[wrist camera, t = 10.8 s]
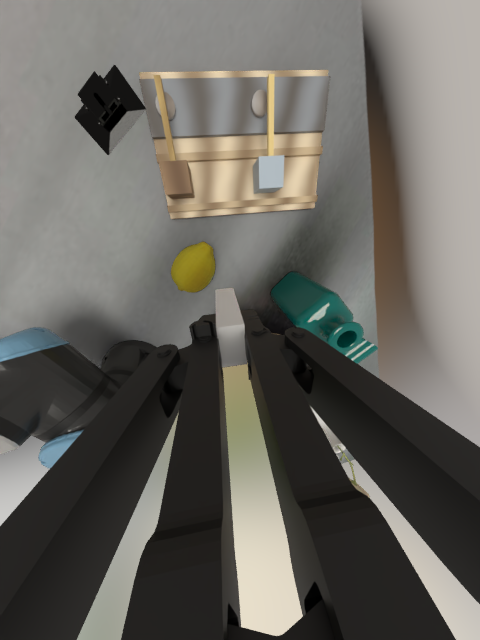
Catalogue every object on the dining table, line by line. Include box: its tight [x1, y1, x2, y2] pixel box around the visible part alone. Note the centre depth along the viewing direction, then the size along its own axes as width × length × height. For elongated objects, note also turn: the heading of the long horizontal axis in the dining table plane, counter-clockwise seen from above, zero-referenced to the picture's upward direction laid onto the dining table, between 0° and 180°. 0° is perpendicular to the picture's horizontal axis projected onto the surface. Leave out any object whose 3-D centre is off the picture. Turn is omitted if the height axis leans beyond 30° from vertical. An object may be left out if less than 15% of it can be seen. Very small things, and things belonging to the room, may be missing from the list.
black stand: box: [75, 65, 146, 155], centre depth 26 cm, size 12×7×5 cm, turn 128°
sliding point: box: [253, 74, 284, 194], centre depth 29 cm, size 4×12×5 cm, turn 4°
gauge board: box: [139, 70, 330, 219], centre depth 29 cm, size 28×18×6 cm, turn 94°
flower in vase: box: [310, 406, 369, 497], centre depth 57 cm, size 13×11×25 cm
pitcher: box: [271, 272, 378, 364], centre depth 35 cm, size 10×8×22 cm
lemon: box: [171, 242, 215, 292], centre depth 36 cm, size 11×8×8 cm
